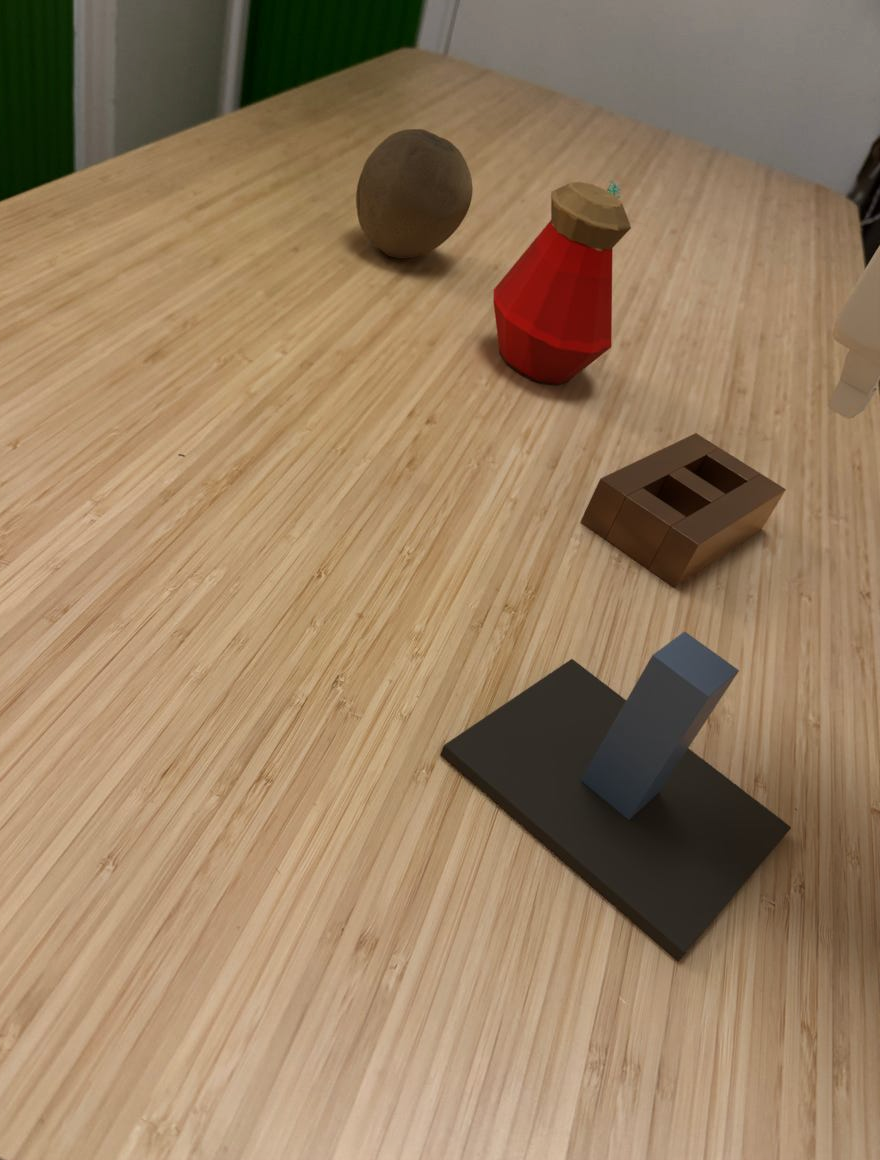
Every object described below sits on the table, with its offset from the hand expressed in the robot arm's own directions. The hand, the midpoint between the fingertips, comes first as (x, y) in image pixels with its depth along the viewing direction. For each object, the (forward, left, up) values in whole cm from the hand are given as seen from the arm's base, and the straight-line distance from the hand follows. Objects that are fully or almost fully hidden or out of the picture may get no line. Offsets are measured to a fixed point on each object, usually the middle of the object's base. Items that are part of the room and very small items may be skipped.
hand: (870, 394), depth 63 cm
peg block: (+14, -24, -28) cm, 39 cm away
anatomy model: (+75, -98, -28) cm, 126 cm away
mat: (-2, +12, -28) cm, 31 cm away
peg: (-2, +12, -27) cm, 30 cm away
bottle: (+42, -37, -28) cm, 63 cm away
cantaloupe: (+70, -43, -28) cm, 87 cm away
